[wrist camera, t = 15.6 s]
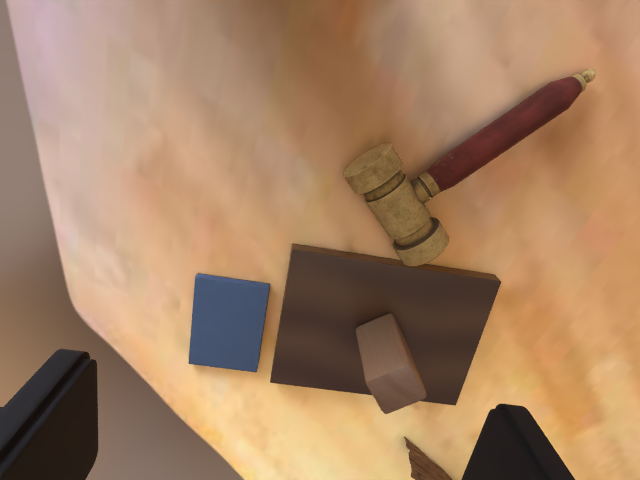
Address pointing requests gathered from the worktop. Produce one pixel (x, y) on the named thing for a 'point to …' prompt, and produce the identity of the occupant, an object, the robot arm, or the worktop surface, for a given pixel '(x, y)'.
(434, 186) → the gavel
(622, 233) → the worktop surface
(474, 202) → the worktop surface
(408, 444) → the wood plank
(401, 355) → the wooden block
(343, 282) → the walnut board
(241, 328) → the blue box
